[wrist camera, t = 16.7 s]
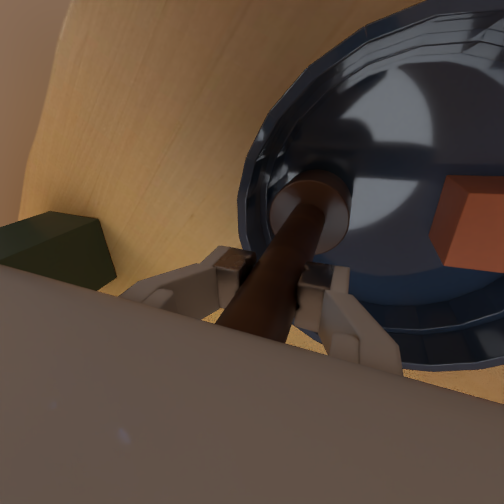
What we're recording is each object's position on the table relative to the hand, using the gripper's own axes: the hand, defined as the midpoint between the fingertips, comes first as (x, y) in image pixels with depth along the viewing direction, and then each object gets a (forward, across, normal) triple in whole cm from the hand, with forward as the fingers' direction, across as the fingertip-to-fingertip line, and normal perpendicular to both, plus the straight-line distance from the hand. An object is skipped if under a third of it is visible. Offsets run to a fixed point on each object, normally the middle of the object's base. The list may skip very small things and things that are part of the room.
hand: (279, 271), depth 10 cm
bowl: (+11, -5, 0) cm, 12 cm away
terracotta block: (+10, -9, 0) cm, 14 cm away
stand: (+11, +28, +9) cm, 32 cm away
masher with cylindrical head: (+9, 0, 0) cm, 9 cm away
